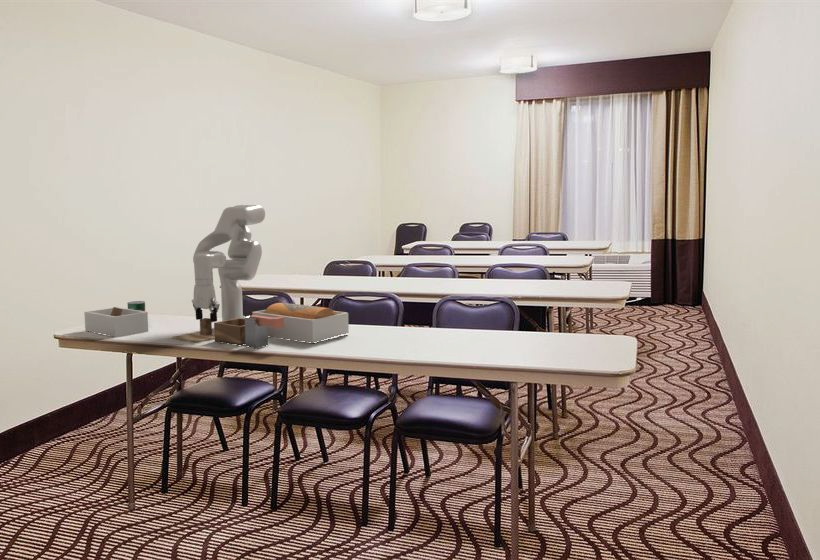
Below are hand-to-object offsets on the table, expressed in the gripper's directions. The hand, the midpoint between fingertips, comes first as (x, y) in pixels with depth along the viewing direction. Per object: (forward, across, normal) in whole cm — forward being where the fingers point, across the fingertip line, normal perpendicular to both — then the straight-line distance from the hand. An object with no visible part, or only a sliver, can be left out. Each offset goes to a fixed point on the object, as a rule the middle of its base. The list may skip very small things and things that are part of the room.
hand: (206, 320), depth 297 cm
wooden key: (-3, +40, -2) cm, 40 cm away
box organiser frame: (+7, +32, +25) cm, 41 cm away
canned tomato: (+8, -48, -2) cm, 49 cm away
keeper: (+6, +34, -3) cm, 35 cm away
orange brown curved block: (+8, +34, +23) cm, 42 cm away
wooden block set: (+7, -43, -15) cm, 46 cm away
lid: (+7, 0, -6) cm, 9 cm away
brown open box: (+6, +20, +1) cm, 22 cm away
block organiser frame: (+7, -42, -17) cm, 45 cm away
